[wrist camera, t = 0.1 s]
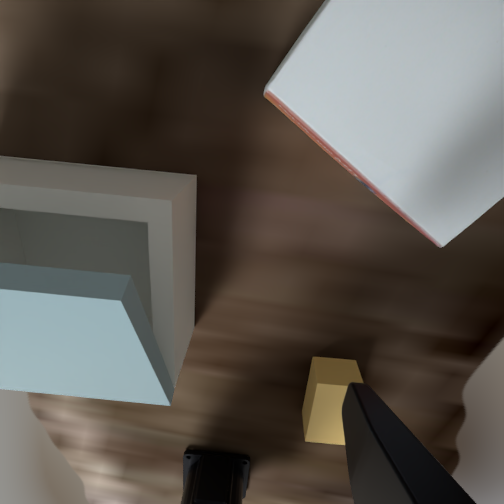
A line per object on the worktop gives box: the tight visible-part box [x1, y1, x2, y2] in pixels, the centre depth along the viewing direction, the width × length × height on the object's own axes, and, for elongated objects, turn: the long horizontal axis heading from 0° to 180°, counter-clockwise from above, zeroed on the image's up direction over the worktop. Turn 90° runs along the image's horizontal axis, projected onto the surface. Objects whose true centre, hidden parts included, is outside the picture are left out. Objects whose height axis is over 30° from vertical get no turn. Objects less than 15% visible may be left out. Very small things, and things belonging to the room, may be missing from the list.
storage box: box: [0, 156, 197, 387], centre depth 20 cm, size 12×13×6 cm
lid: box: [0, 262, 174, 406], centre depth 15 cm, size 12×13×1 cm
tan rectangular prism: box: [302, 357, 363, 445], centre depth 26 cm, size 6×4×3 cm, turn 176°
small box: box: [263, 0, 504, 247], centre depth 14 cm, size 8×6×10 cm
